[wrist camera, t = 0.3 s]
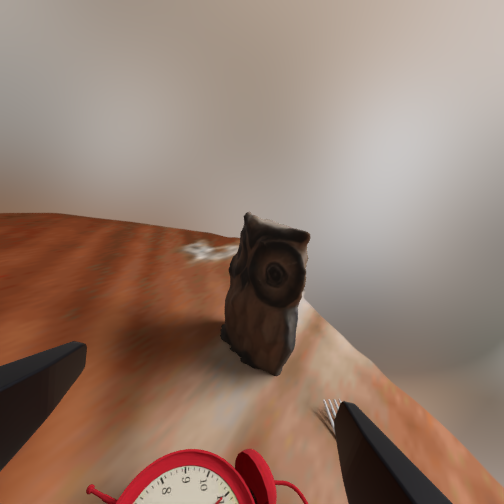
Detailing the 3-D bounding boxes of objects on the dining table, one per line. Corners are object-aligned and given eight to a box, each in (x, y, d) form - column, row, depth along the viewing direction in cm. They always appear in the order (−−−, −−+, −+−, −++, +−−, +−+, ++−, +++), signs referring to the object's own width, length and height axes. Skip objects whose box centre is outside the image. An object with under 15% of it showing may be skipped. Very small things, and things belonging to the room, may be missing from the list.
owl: (284, 386, 30) (332, 240, 25) (195, 354, 32) (223, 211, 27) (288, 333, 43) (322, 227, 38) (223, 312, 44) (247, 208, 39)
